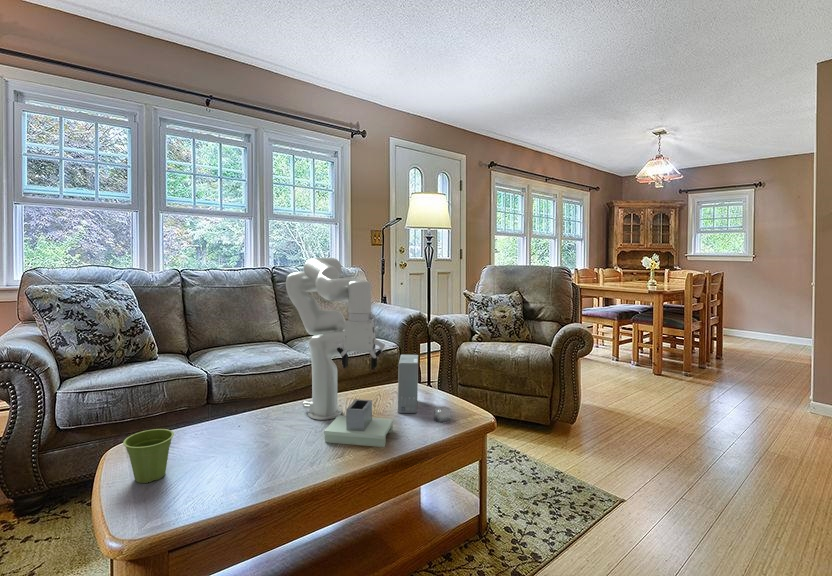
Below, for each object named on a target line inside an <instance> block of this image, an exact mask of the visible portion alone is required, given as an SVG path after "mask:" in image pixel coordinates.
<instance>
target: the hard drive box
mask: <svg viewBox="0 0 832 576" xmlns="http://www.w3.org/2000/svg"><path fill="white" fill-rule="evenodd" d="M398 361H399V362H398V373H397V374H398V376H397V378H398V379H397V380H398V381H397V385H398V386H397V413H400V414H417V413H418V396H419V394H418V393H419V392H418V387H419V386H418V385H419V354H400V355H399V360H398Z"/></svg>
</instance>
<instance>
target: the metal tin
mask: <svg viewBox="0 0 832 576" xmlns="http://www.w3.org/2000/svg"><path fill="white" fill-rule="evenodd" d="M433 413H434V414H433V420H434V421H435V422H436V423H437V422H438V423H440V424H441V423H443V422H446V423H449V422H451V408H449V407H447V406H437V407H435V408H434V410H433ZM448 421H449V422H448ZM443 424H444V423H443Z"/></svg>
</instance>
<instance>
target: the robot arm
mask: <svg viewBox="0 0 832 576" xmlns="http://www.w3.org/2000/svg"><path fill="white" fill-rule="evenodd" d="M342 269H343V267H342V264H341V262H340V261H339V260H338V259H336V258H334V257H312V258H310V259H308V260H306V262H305V263H304V265H303V271H295V272H291V273H290V274H288V275H287V276H286V278H285V279H286V280H285V288H286V293H287V296H288V298H289V300H290V301H291V303H292V304H293V306H294V307H295V308H296V311H297V312H298V315H299V317H300V319H301V321H302V324H303V327H304V329H305V331H306V333H308V335H310V336H311V337H310V339H309V341H308V348H309V355H310V360H311V385H312V386H311V389H312V390H311V392H312V394H311V401H303V403H302V407H303V409H308V410H309V411H307V412H308V418H311V419H314V420H319V421H320V420H322V421H325V420H331V419H336V418H337V416H338V415H342V412H343V410H342V408H341V407H339V406H338V367H337V365H336V363H335V362H334V361H333V360H332V358H334V357H339V356H341V365H342V368H343V369H346V368H347V367H348V366H349V355H350V354H351V353H353V352H355V353H368V354H370V356H371V358H370V369H371V370H372V371H374V370H375V369H376V368H377V366H378V356H380V354H382V352H383V350H384V349H385V347H386V344H385V343H383V342H382V341H380V340H378V339H376V338H377V337H376V327H375V322H374V321H372V320H375V319H376V314H373V313H372V284H371V282H370V281H368V280H364V279H359V278H355V277H354V278H340V276H341V274H342ZM310 292H311V293H312V292H315V293H316V292H317V294H318V295H319V296H320V297H322V298H323V299H324V300H327V301H330V302H338V301H339V302H342V301H347V302H348V303H347V305H348V306H347V311H348V312H347V314H348V315H347V317H348V320H346V318H345V317H344V314H343V313H342V312H341V311H339V310H338V309H326V310H324V309H322V308H321V307H320V304H319V302H318V301H317V300H316V298H315V297H313V296H312V295H311V294H309V293H310ZM376 346H377V347H378V350H376Z"/></svg>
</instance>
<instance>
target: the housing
mask: <svg viewBox="0 0 832 576" xmlns="http://www.w3.org/2000/svg"><path fill="white" fill-rule="evenodd" d="M345 412H346V413H345V414H346V415H345V416H346V430H352V431H365V429H366V428H367V426H368V425H369V423H370V422H371V421H372V418H373V400H372V399H361V398H360V399H357V398H356V399H354V400H353V401H352V402H351V404H350V405H348V407H347V408H346V409H345Z"/></svg>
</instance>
